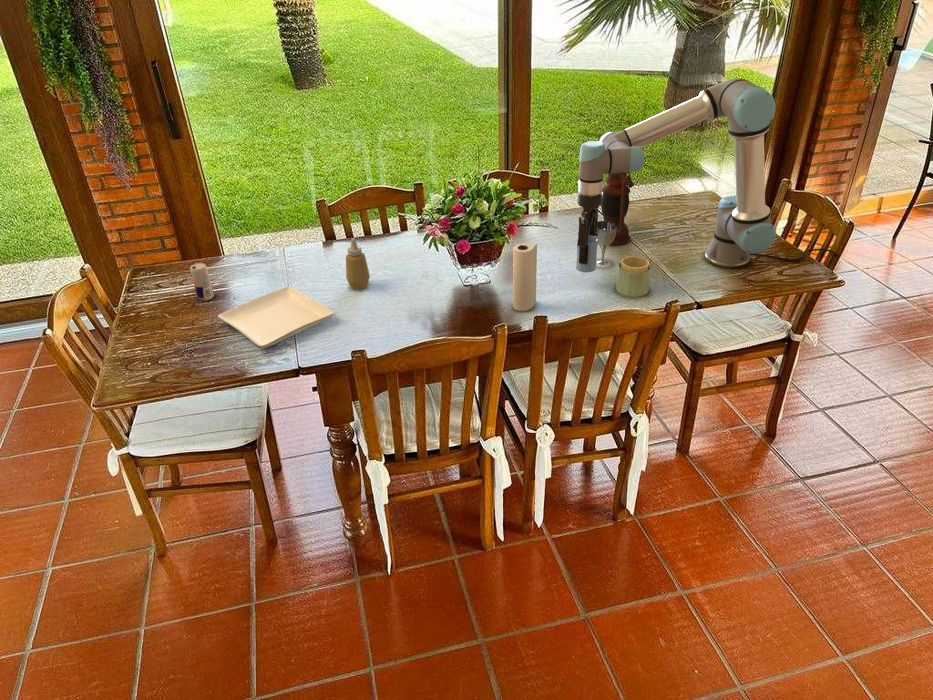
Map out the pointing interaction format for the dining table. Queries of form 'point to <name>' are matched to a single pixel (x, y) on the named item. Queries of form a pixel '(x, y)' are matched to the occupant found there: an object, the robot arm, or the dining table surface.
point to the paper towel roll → (524, 276)
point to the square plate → (276, 316)
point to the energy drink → (201, 281)
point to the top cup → (591, 256)
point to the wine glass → (605, 236)
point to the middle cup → (634, 264)
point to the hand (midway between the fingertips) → (586, 258)
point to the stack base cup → (632, 282)
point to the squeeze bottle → (356, 267)
